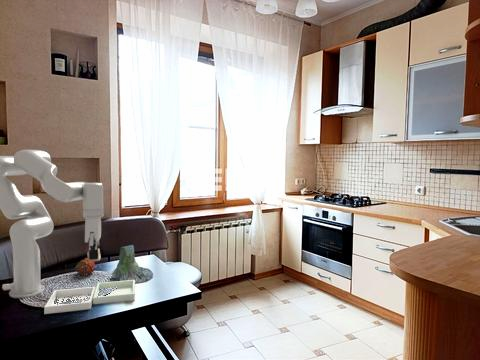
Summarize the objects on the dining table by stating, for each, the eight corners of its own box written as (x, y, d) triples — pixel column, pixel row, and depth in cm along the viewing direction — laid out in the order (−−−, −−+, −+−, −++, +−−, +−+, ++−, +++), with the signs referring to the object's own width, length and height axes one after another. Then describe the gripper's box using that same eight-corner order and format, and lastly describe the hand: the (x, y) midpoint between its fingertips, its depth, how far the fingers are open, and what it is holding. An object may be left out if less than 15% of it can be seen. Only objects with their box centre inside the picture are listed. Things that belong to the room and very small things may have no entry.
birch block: (88, 262, 127) (87, 252, 127) (90, 259, 131) (89, 250, 131) (99, 260, 128) (97, 250, 128) (100, 257, 132) (99, 248, 132)
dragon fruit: (85, 281, 153) (83, 277, 163) (100, 268, 157) (97, 265, 167) (73, 268, 151) (71, 264, 161) (88, 256, 155) (86, 253, 165)
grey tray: (44, 315, 117) (44, 307, 117) (54, 297, 132) (54, 290, 132) (90, 309, 122) (90, 302, 122) (95, 293, 137) (95, 286, 136)
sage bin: (93, 305, 126) (93, 297, 125) (97, 289, 141) (97, 282, 140) (134, 300, 130) (134, 293, 130) (134, 286, 145) (134, 279, 145)
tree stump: (131, 288, 143) (123, 250, 144) (105, 288, 154) (98, 252, 155) (161, 275, 159) (154, 239, 159) (136, 275, 170) (129, 243, 170)
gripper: (87, 210, 136) (88, 252, 137) (79, 217, 120) (80, 264, 121) (106, 209, 138) (107, 251, 139) (100, 216, 122) (101, 263, 123)
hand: (94, 256), depth 130 cm, fingers closed on birch block, 4 cm apart
